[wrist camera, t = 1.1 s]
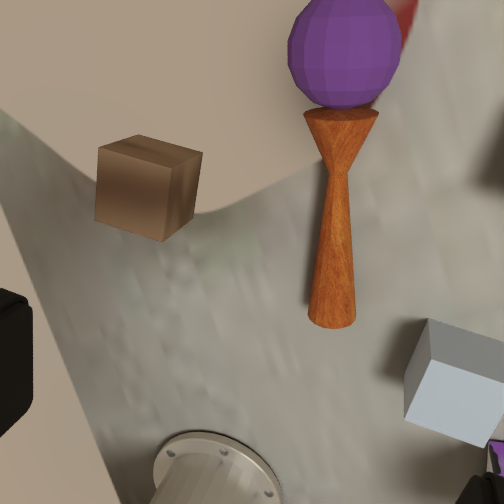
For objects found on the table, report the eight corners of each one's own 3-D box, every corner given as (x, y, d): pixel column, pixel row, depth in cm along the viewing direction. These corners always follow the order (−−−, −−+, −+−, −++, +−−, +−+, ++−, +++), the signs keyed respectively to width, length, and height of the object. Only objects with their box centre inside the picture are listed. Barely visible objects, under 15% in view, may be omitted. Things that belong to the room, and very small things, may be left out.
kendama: (274, 327, 32) (267, -11, 23) (307, 285, 37) (312, -9, 28) (361, 351, 30) (392, -18, 21) (385, 302, 34) (418, -16, 25)
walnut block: (193, 218, 35) (162, 242, 31) (132, 199, 36) (94, 220, 32) (202, 152, 33) (171, 168, 29) (138, 134, 34) (98, 147, 30)
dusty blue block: (473, 397, 34) (483, 448, 30) (404, 373, 35) (403, 419, 31) (503, 341, 32) (518, 388, 28) (428, 317, 33) (431, 359, 29)
